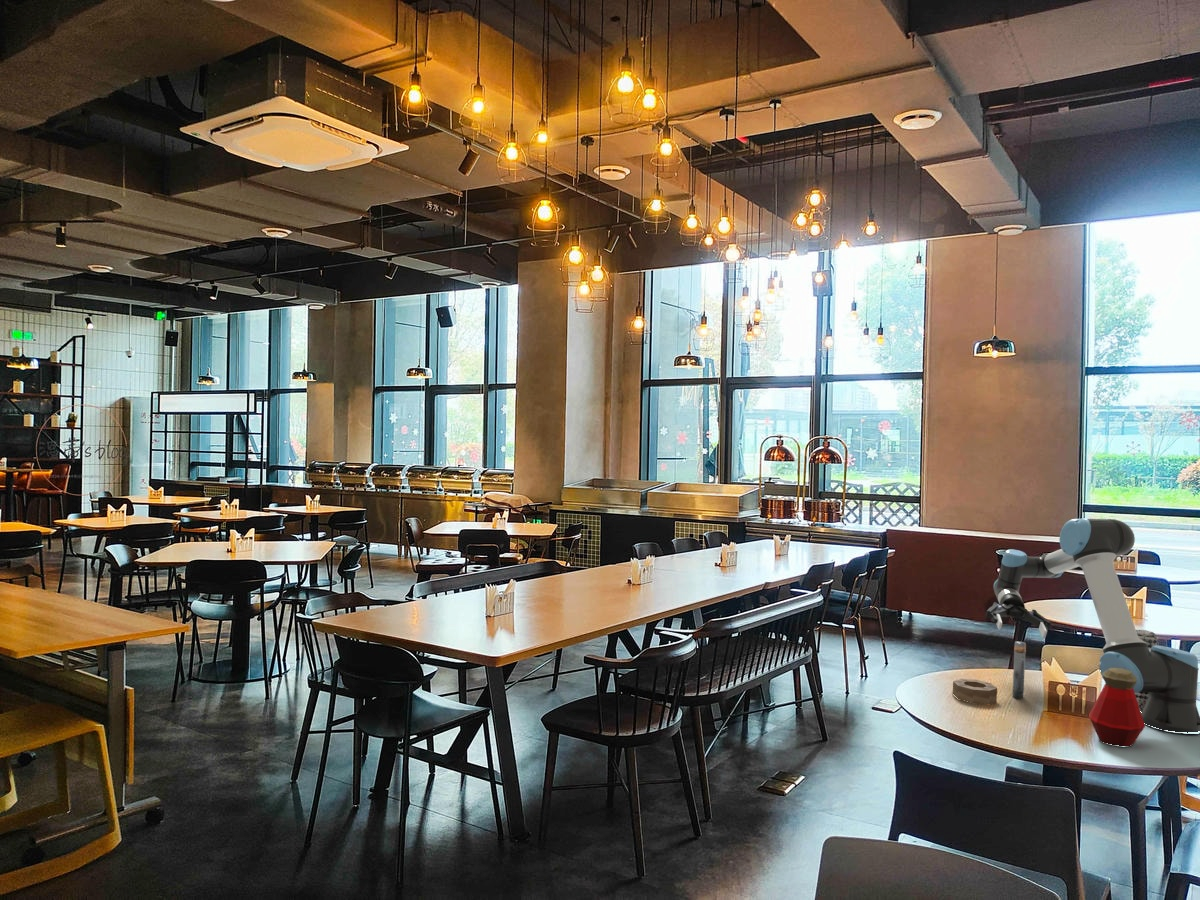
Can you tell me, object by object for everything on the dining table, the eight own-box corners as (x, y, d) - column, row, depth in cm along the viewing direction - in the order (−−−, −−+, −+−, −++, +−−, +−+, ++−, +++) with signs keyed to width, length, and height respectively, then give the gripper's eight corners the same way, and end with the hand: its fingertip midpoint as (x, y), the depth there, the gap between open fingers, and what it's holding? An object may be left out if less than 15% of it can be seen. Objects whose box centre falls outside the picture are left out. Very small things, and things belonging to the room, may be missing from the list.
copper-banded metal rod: (1025, 699, 271) (1027, 644, 270) (1014, 698, 271) (1017, 643, 271) (1021, 696, 274) (1023, 641, 274) (1010, 695, 274) (1013, 641, 274)
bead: (1000, 705, 263) (1001, 691, 263) (961, 702, 265) (961, 688, 264) (986, 693, 275) (987, 680, 275) (949, 691, 277) (949, 677, 276)
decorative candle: (1147, 706, 268) (1150, 628, 268) (1163, 715, 259) (1167, 635, 259) (1116, 704, 269) (1120, 627, 269) (1132, 713, 260) (1136, 633, 260)
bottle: (1092, 728, 245) (1096, 660, 245) (1147, 740, 236) (1151, 669, 236) (1082, 742, 233) (1086, 670, 232) (1140, 755, 224) (1143, 681, 224)
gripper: (1047, 620, 294) (1061, 648, 274) (971, 605, 300) (979, 632, 280) (1052, 600, 292) (1066, 628, 272) (975, 586, 298) (984, 612, 278)
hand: (1022, 630), depth 276 cm, fingers open, 13 cm apart
